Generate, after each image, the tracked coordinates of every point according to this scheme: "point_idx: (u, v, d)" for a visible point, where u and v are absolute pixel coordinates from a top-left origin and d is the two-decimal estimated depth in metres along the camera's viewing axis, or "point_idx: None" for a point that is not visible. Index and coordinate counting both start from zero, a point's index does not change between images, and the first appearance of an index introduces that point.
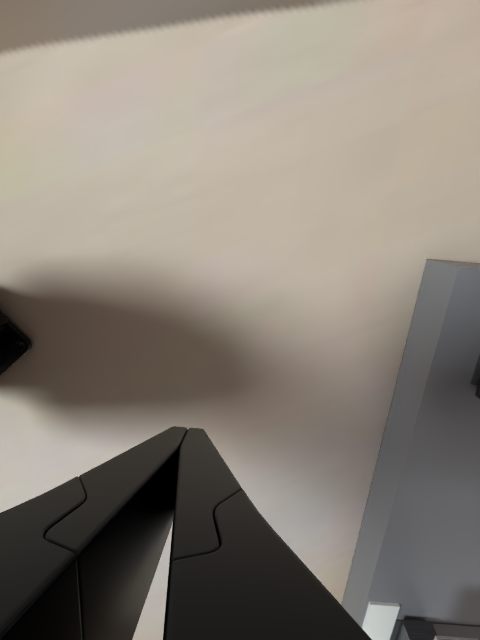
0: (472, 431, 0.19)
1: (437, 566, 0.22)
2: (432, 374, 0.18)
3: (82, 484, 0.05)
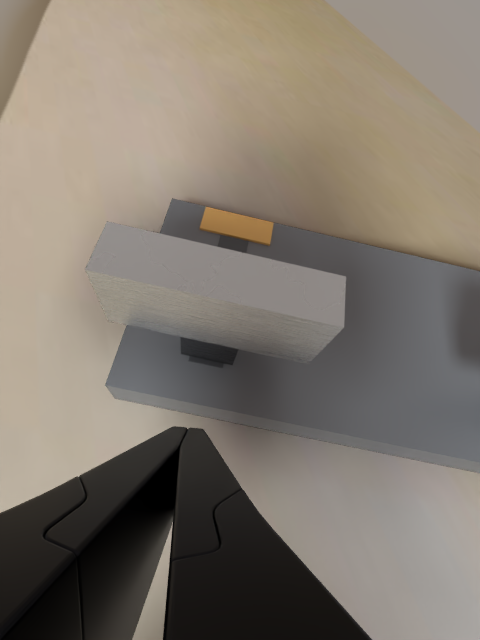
0: (273, 362, 0.21)
1: (433, 387, 0.21)
2: (209, 403, 0.19)
3: (82, 484, 0.05)
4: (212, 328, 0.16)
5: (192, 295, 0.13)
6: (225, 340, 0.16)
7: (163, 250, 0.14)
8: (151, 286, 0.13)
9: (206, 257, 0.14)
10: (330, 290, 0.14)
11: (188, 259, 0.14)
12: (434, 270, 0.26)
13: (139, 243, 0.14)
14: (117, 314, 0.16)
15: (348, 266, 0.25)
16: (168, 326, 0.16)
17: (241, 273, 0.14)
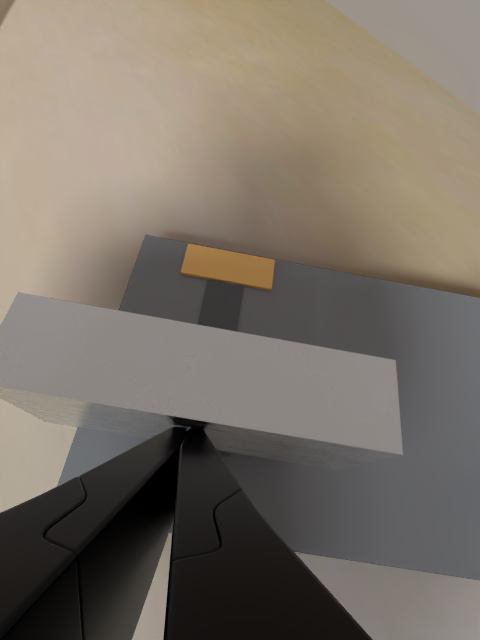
0: None
1: None
2: None
3: (82, 484, 0.05)
4: None
5: (151, 413, 0.08)
6: None
7: (106, 336, 0.09)
8: (83, 402, 0.08)
9: (175, 343, 0.09)
10: (374, 387, 0.09)
11: (146, 349, 0.09)
12: None
13: (67, 327, 0.09)
14: (53, 418, 0.11)
15: (372, 313, 0.19)
16: (129, 431, 0.11)
17: (232, 368, 0.09)
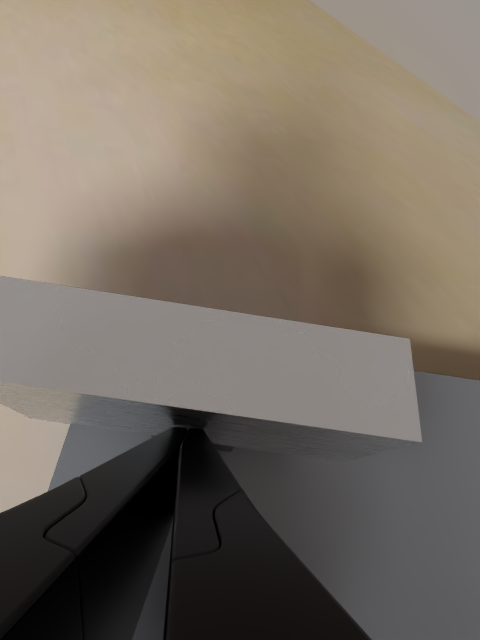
0: None
1: None
2: None
3: (82, 484, 0.05)
4: None
5: (138, 403, 0.07)
6: (213, 439, 0.10)
7: (87, 320, 0.08)
8: (62, 392, 0.07)
9: (165, 326, 0.08)
10: (387, 368, 0.08)
11: (132, 333, 0.08)
12: None
13: (44, 310, 0.08)
14: (38, 414, 0.10)
15: None
16: (121, 426, 0.10)
17: (228, 351, 0.08)
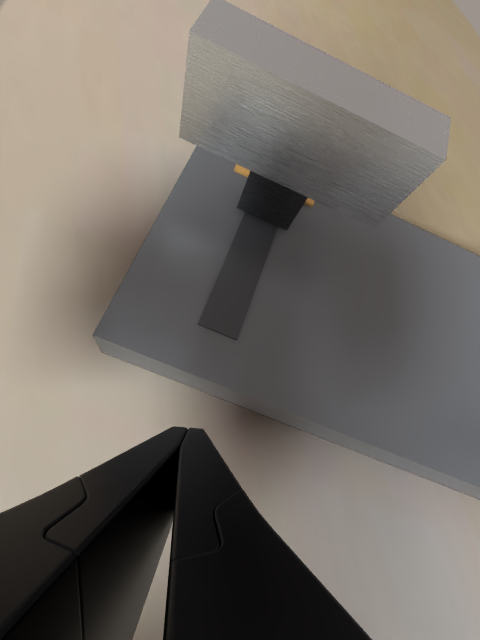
0: (296, 344, 0.17)
1: (469, 405, 0.19)
2: (215, 378, 0.16)
3: (82, 484, 0.05)
4: (294, 155, 0.15)
5: (296, 89, 0.12)
6: (300, 179, 0.16)
7: (271, 39, 0.13)
8: (255, 68, 0.12)
9: (314, 58, 0.13)
10: (435, 124, 0.13)
11: (296, 55, 0.13)
12: None
13: (246, 25, 0.12)
14: (194, 125, 0.15)
15: (396, 249, 0.21)
16: (245, 150, 0.15)
17: (348, 83, 0.13)
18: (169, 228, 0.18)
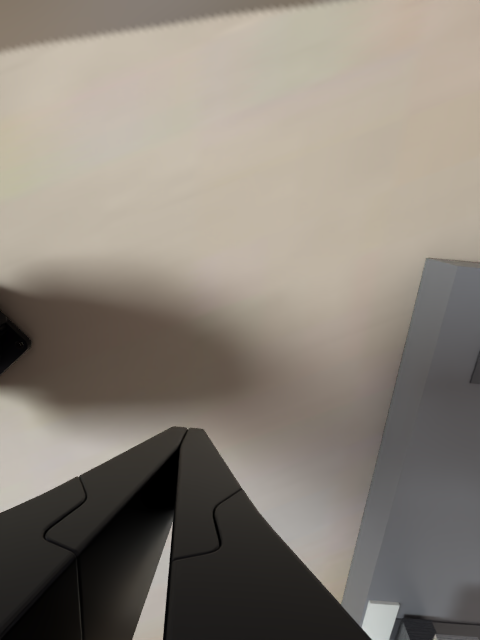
0: (472, 430, 0.19)
1: (436, 565, 0.22)
2: (432, 373, 0.18)
3: (82, 484, 0.05)
4: None
5: None
6: None
7: None
8: None
9: None
10: None
11: None
12: None
13: None
14: None
15: None
16: None
17: None
18: None
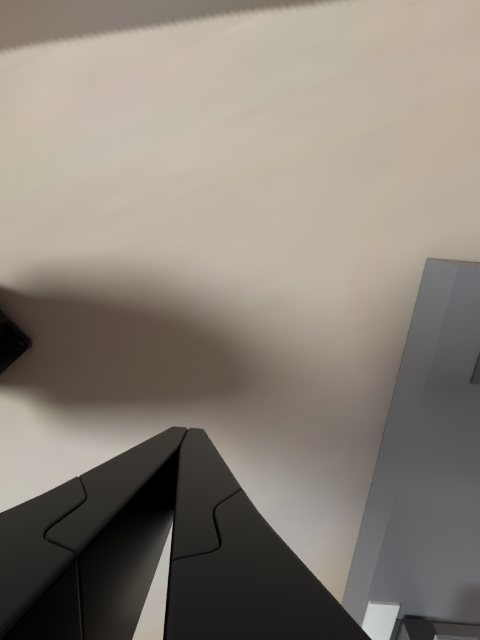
0: (472, 431, 0.19)
1: (437, 565, 0.22)
2: (432, 373, 0.18)
3: (82, 484, 0.05)
4: None
5: None
6: None
7: None
8: None
9: None
10: None
11: None
12: None
13: None
14: None
15: None
16: None
17: None
18: None
